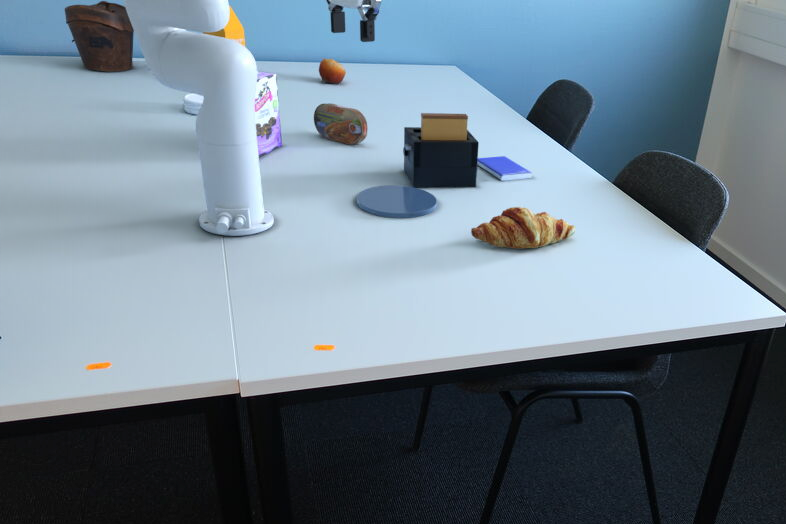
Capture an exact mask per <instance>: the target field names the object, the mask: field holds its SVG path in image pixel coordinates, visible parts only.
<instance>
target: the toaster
mask: <svg viewBox="0 0 786 524" xmlns="http://www.w3.org/2000/svg"><path fill="white" fill-rule="evenodd" d="M403 139H404V140H403V149H402V153H403V172H404V174H405V175H406V177H407V179H408V181H409V183H410V185H411V187H414V188H418V189H431V188H432V189H433V188H434V189H435V188H436V189H437V188H438V189H439V188H440V189H441V188H442V189H443V188H444V189H445V188H477V176H478V164H477V161H478V158H479V141H478V140H477V139H476V138H475V137H474V135H473V134H472V133H471V132H470V131H469V130H468V129H467V140H421V126H420V127H419V126H418V127H415V126H414V127H412V126H410V127H409V126H404V127H403Z"/></svg>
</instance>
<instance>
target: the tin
mask: <svg viewBox="0 0 786 524" xmlns="http://www.w3.org/2000/svg"><path fill="white" fill-rule="evenodd" d="M313 122H314V127H315V129H316V132H318V134H319V135H320V136H321V137H322V138H324V139H326V140H329V141H330V140H331V141H335V142H338V143H342V144H345V145H350V146H353V145H356V144H361V143H362V142H364V141H365V139H366V138H367V136H368V122H367V118H366V117H365V116H364V114H363V113H362V112H361V111H360V110H358V109H356V108H353V107H348V106H343V105H340V104H336V103H332V102H331V103H330V102H329V103H328V102H327V103H321V104H319V105H318V106H316V108H315V110H314V113H313Z"/></svg>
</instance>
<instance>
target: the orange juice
mask: <svg viewBox="0 0 786 524" xmlns="http://www.w3.org/2000/svg"><path fill="white" fill-rule="evenodd" d="M229 9H230V16H229V21H228V23H227V25H226V26H225V27H224V28H223V29H221V30H219V31H217V32H210V33H208V32H202V33H203V34H208V35H213V36H218V37H224V38H228V39H231V40H234V41H236V42H238V43H240V44H242V45H243V46H245V47H246V38H245V28H244V26H243V24H242V23H241V21H240V19H239V18H238V17H237V14H236V13H235V11H234V10H233V8H232V6H231V5H229Z"/></svg>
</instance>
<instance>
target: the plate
mask: <svg viewBox="0 0 786 524" xmlns="http://www.w3.org/2000/svg"><path fill="white" fill-rule="evenodd" d="M356 204H357V206H358V207H359V208H360V209H361V210H363V211H365V212H366V213H369V214H372V215H375V216H379V217H384V218H393V219H409V218H410V219H411V218H417V217H422V216H426V215H428V214H431V213H432V212H434V211H435V210H436V208H437V206H438V200H437V198H436V196H435V195H434V194H433V193H431V192H429V191H426V190H424V189H423V188H414V187H413V186H408V185H395V184H394V185H393V184H392V185H391V184H388V185H377V186H372V187H368V188H365V189H363V190H361V191H360V192H359V193H358V194H357V195H356Z"/></svg>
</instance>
